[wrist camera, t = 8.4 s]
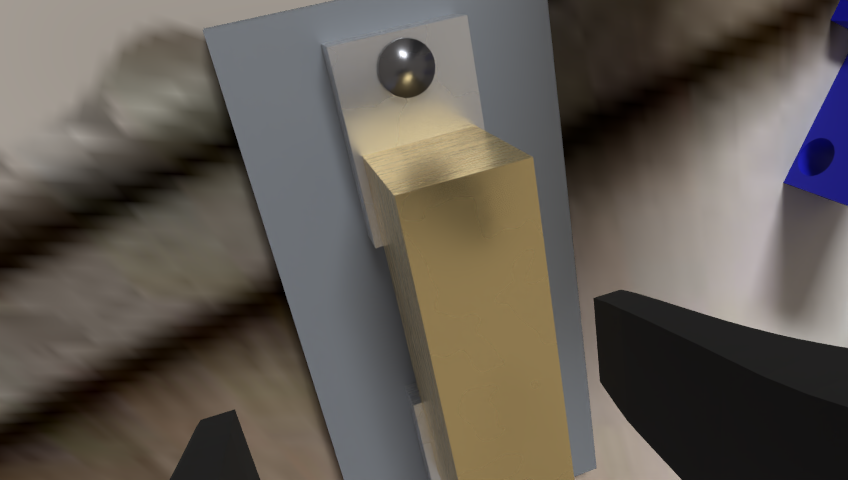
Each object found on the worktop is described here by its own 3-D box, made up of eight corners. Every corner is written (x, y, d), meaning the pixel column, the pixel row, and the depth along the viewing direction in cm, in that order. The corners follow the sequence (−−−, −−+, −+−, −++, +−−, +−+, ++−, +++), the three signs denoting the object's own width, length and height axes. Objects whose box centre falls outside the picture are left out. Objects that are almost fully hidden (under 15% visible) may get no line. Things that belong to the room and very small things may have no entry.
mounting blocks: (434, 509, 26) (445, 536, 24) (320, 43, 18) (327, 47, 17) (528, 474, 26) (543, 498, 25) (453, 13, 19) (469, 15, 18)
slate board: (362, 535, 26) (367, 554, 25) (203, 28, 18) (202, 30, 17) (584, 452, 28) (596, 468, 27) (528, -42, 20) (543, -44, 19)
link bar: (437, 471, 23) (475, 559, 20) (362, 156, 19) (394, 196, 15) (527, 439, 24) (579, 518, 20) (475, 125, 19) (533, 157, 16)
